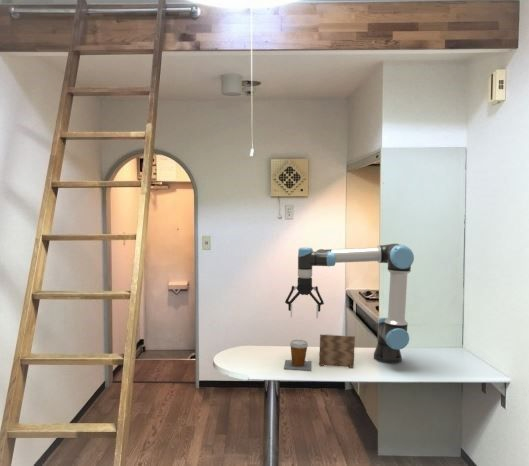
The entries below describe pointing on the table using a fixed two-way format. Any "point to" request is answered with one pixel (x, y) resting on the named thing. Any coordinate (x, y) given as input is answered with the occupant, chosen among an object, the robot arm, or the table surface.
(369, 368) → the table surface
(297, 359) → the disposable coffee cup
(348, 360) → the screen
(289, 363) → the mat
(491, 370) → the table surface
